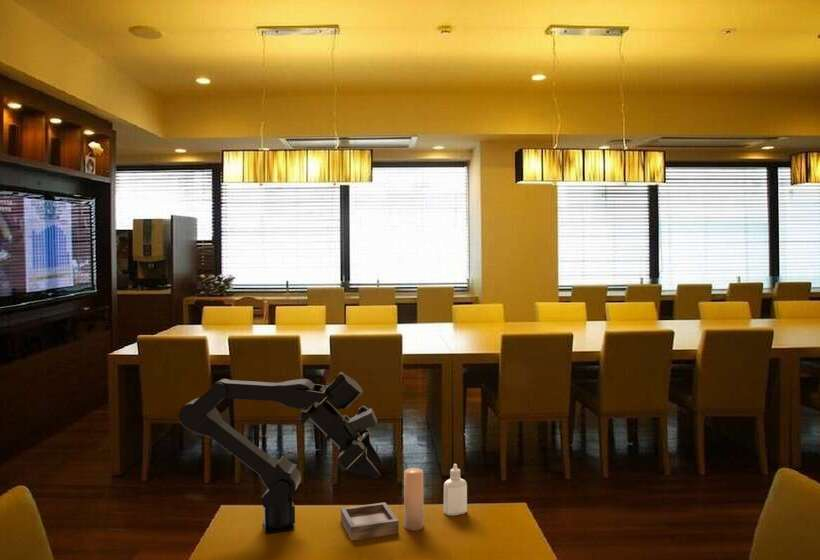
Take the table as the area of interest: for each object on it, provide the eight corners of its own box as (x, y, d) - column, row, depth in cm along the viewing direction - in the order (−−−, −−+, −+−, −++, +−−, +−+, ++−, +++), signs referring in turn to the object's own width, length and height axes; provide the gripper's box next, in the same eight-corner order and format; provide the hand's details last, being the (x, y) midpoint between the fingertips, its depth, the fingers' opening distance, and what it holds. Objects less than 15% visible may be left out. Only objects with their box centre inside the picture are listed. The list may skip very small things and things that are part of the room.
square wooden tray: (351, 540, 140) (351, 527, 140) (340, 520, 151) (340, 508, 151) (398, 533, 144) (398, 520, 144) (385, 514, 154) (385, 502, 154)
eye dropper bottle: (466, 517, 153) (466, 467, 152) (443, 515, 153) (442, 466, 153) (467, 509, 157) (467, 461, 156) (444, 508, 158) (444, 460, 157)
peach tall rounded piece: (407, 531, 145) (407, 475, 144) (402, 523, 149) (401, 469, 148) (426, 528, 146) (425, 473, 146) (419, 521, 150) (419, 467, 150)
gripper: (352, 408, 137) (404, 458, 137) (359, 389, 155) (404, 433, 156) (316, 444, 137) (367, 494, 138) (327, 421, 156) (373, 465, 156)
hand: (379, 469), depth 147 cm, fingers open, 9 cm apart
